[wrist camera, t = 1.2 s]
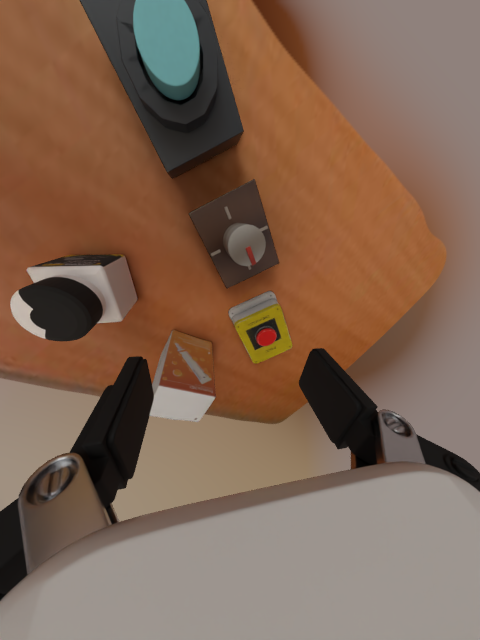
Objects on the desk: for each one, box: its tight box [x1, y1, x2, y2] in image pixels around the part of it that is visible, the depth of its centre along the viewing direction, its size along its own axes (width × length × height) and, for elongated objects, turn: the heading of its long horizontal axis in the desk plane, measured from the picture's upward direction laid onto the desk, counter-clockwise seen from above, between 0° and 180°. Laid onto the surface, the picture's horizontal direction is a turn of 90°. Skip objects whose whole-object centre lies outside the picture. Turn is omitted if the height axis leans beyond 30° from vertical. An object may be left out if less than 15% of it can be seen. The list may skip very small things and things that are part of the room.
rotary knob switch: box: [189, 179, 279, 288], centre depth 26 cm, size 11×9×3 cm
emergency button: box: [228, 291, 292, 363], centre depth 35 cm, size 9×4×15 cm
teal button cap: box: [133, 0, 200, 100], centre depth 13 cm, size 4×4×2 cm
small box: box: [149, 330, 216, 422], centre depth 30 cm, size 8×6×13 cm
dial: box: [223, 223, 266, 266], centre depth 22 cm, size 4×4×5 cm
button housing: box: [80, 0, 244, 179], centre depth 16 cm, size 11×9×6 cm
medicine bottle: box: [10, 254, 138, 341], centre depth 21 cm, size 7×7×12 cm
